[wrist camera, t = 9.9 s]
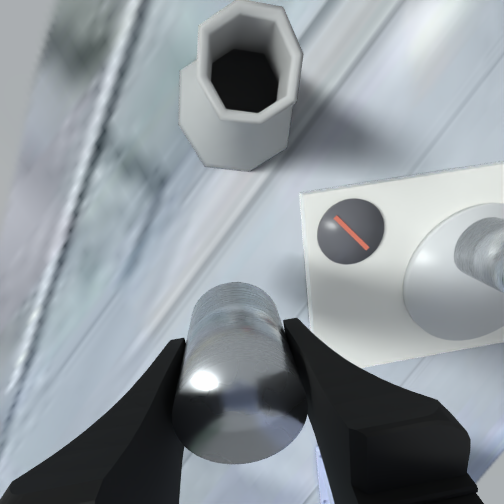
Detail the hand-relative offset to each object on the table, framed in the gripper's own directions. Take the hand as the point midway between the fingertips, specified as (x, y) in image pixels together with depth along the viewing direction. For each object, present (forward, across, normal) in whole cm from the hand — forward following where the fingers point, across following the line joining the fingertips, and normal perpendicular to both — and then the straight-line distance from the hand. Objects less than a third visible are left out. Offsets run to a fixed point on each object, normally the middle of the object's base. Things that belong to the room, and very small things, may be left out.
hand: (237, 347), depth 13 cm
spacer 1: (+2, 0, 0) cm, 2 cm away
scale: (+9, -15, +3) cm, 17 cm away
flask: (+9, -2, -10) cm, 14 cm away
